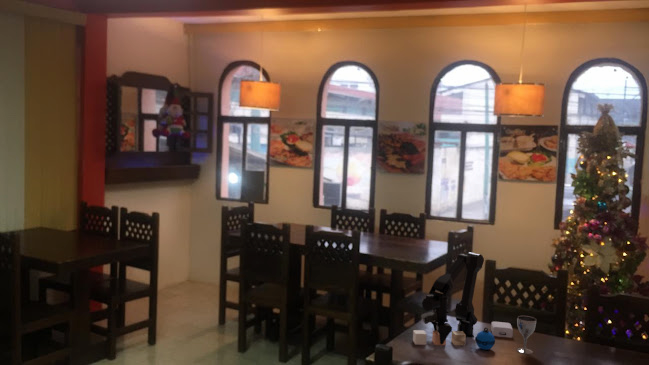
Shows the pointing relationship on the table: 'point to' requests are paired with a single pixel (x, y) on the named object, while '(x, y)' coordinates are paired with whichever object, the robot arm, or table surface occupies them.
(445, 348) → the table surface
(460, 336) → the birch block
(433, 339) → the terracotta block
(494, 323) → the charger
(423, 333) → the grey block
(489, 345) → the ornament
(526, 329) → the wine glass
